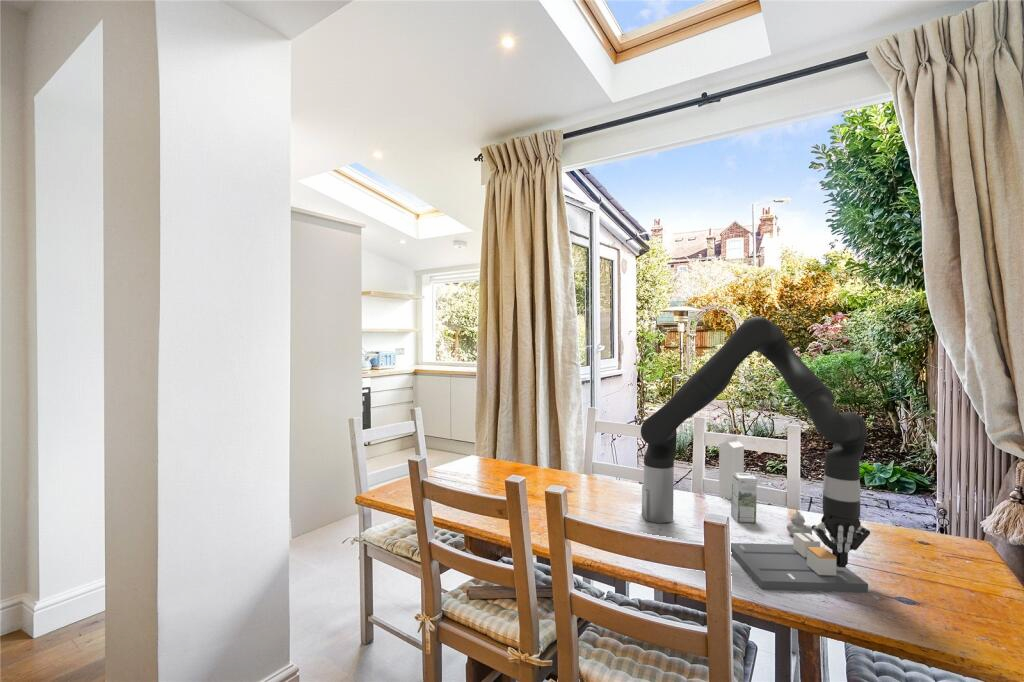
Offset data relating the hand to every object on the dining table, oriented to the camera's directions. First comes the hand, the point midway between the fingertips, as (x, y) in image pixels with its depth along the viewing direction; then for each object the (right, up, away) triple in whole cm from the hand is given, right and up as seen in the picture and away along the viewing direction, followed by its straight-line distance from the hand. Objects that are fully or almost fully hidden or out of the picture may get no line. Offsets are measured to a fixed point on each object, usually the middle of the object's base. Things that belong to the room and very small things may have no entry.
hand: (839, 565), depth 115 cm
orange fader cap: (-5, -1, 0) cm, 5 cm away
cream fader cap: (-3, -1, +9) cm, 9 cm away
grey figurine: (+5, -3, +24) cm, 25 cm away
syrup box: (-6, -3, +37) cm, 37 cm away
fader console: (-9, -3, +5) cm, 11 cm away
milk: (+1, -3, +58) cm, 58 cm away
